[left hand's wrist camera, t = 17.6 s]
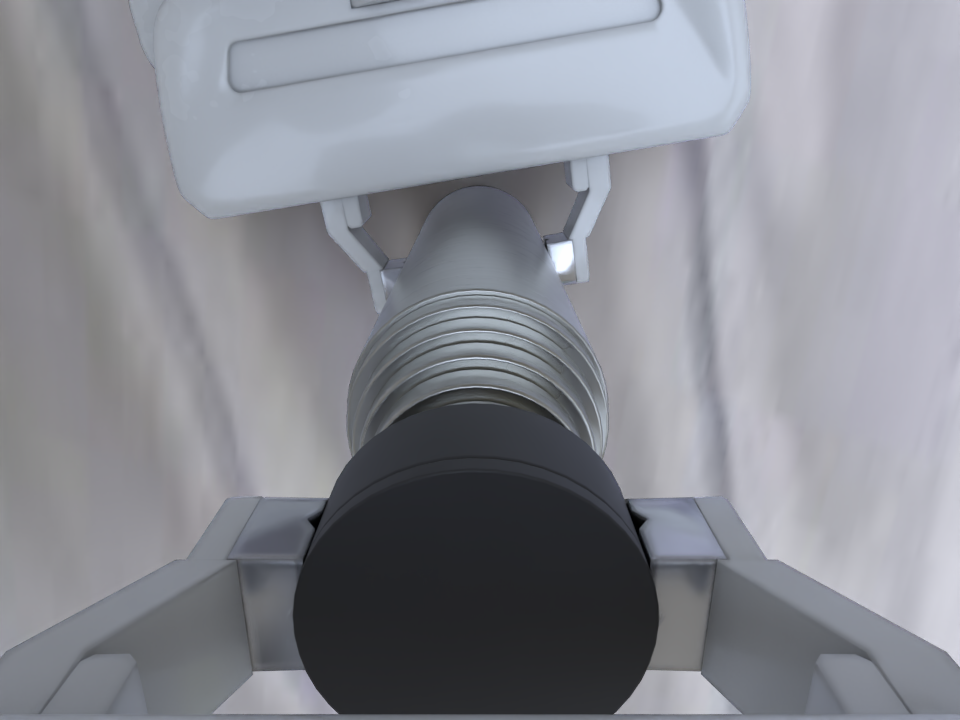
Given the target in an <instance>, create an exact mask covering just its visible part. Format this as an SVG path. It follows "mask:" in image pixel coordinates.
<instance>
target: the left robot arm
mask: <svg viewBox="0 0 960 720" xmlns="http://www.w3.org/2000/svg"><path fill="white" fill-rule="evenodd" d="M328 500H329V498H293V497H265V498H263V497H262V496H258V497H231V498H228V499H226V500H225V502H224V503H223V505H222V506H221V508H220V509H219V511H218V512H217V514H216V515H215V517H214V518H213V520H212V521H211V523H210V524H209V526H208V527H207V529H206V530H205V532H204V533H203V535H202V536H201V538H200V539H199V541H198V543H197V544H196V546H195V547H194V549H193V550H192V552H191V553H190V555H189V556H188V558H187V559H186V560H175V561H173V562H171V563H169V564H167V565H165V566H163V567H162V568H160V569H158V570H156V571H154V572H152V573H150V574H149V575H147V576H145V577H143V578H141V579H139V580H137V581H136V582H134V583H132V584H130V585H128V586H126V587H125V588H123V589H121V590H119V591H117V592H115V593H113V594H112V595H110V596H108V597H106V598H104V599H102V600H100V601H99V602H97V603H95V604H93V605H91V606H89V607H87V608H86V609H84V610H82V611H80V612H78V613H76V614H75V615H73V616H71V617H69V618H67V619H65V620H63V621H62V622H60V623H58V624H56V625H54V626H52V627H50V628H49V629H47V630H45V631H43V632H41V633H39V634H38V635H36V636H34V637H32V638H30V639H28V640H26V641H25V642H23V643H21V644H19V645H17V646H15V647H13V648H12V649H10V650H8V651H6V652H5V654H4V655H3V656H2V657H1V658H0V720H960V667H959V666H958V665H957V664H956V662H955V661H954V660H953V659H952V658H951V657H950V656H949V654H948V653H947V652H945V651H944V650H942V649H940V648H938V647H936V646H934V645H933V644H931V643H929V642H927V641H925V640H923V639H922V638H920V637H918V636H916V635H914V634H912V633H911V632H909V631H907V630H905V629H903V628H901V627H900V626H898V625H896V624H894V623H892V622H891V621H889V620H887V619H885V618H883V617H881V616H880V615H878V614H876V613H874V612H872V611H870V610H869V609H867V608H865V607H863V606H861V605H859V604H858V603H856V602H854V601H852V600H850V599H848V598H847V597H845V596H843V595H841V594H839V593H837V592H836V591H834V590H832V589H830V588H828V587H827V586H825V585H823V584H821V583H819V582H817V581H816V580H814V579H812V578H810V577H808V576H806V575H805V574H803V573H801V572H799V571H797V570H795V569H794V568H792V567H790V566H788V565H786V564H784V563H783V562H781V561H779V560H767V558H766V557H765V555H764V554H763V552H762V551H761V549H760V548H759V546H758V545H757V543H756V542H755V540H754V539H753V537H752V535H751V534H750V532H749V531H748V529H747V528H746V526H745V525H744V523H743V522H742V520H741V519H740V517H739V516H738V514H737V513H736V511H735V509H734V508H733V506H732V505H731V503H730V502H729V500H728V499H727V498H725V497H723V496H715V497H687V498H647V499H624V501H625V503H626V506H627V509H628V512H629V514H630V517H631V520H632V522H633V525H634V528H635V531H636V533H637V536H638V539H639V542H640V544H641V547H642V550H643V553H644V555H645V558H646V561H647V563H648V566H649V569H650V572H651V575H652V577H653V580H654V583H655V587H656V592H657V598H658V604H659V627H658V634H657V640H656V645H655V648H654V652H653V655H652V658H651V661H650V664H649V666H648V668H647V670H673V671H701V675H703V676H704V677H705V678H706V679H707V680H708V681H709V682H710V683H711V684H712V685H713V686H714V687H715V688H716V689H717V690H718V691H719V692H720V693H721V694H722V695H723V696H724V697H725V698H726V699H727V700H728V701H730V702H731V703H732V704H733V705H734V706H735V707H736V708H737V709H738V710H739V711H740V712H741V713H742V714H212V713H213V712H214V711H215V710H216V709H217V708H218V707H219V706H220V705H221V704H222V703H223V702H225V701H226V700H227V699H228V698H229V697H230V696H231V695H232V694H233V693H234V692H235V691H236V690H237V689H238V688H239V687H240V686H241V685H242V684H243V683H244V682H246V681H247V680H248V679H249V678H250V677H251V676H252V675H253V673H252V671H280V670H305V668H304V665H303V663H302V661H301V658H300V656H299V653H298V649H297V644H296V640H295V636H294V628H293V603H294V594H295V590H296V586H297V582H298V578H299V575H300V572H301V570H302V567H303V565H304V562H305V559H306V557H307V554H308V552H309V549H310V546H311V544H312V541H313V539H314V536H315V534H316V531H317V528H318V526H319V523H320V521H321V518H322V515H323V513H324V510H325V508H326V505H327V503H328Z"/></svg>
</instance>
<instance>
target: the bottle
mask: <svg viewBox="0 0 960 720" xmlns="http://www.w3.org/2000/svg"><path fill="white" fill-rule="evenodd" d="M468 403H479V404H496V405H503V406H510V407H515V408H518V409H522V410H526V411H529V412H533V413H536V414H538V415H540V416H543V417H545V418H548V419H550V420H552V421H554V422H556V423H558V424H560V425H561V426H563V427H565V428H567V429H568V430H570V431H572V432H573V433H574V434H575V435H577V436H578V437H579V438H581V439H582V440H583V441H585V442H586V443H587V444H588V445H589V446H590V447H591V448H592V449H593V450H594V451H595V452H596V453H597V454H598V455H599V456H600V457H601V459H602V460H603V456H604V453H605V449H606V446H607V439H608V432H609V413H608V394H607V388H606V382H605V379H604V376H603V372H602V369H601V366H600V364H599V362H598V360H597V358H596V356H595V353H594V351H593V349H592V347H591V345H590V343H589V341H588V338H587V336H586V334H585V332H584V330H583V328H582V325H581V323H580V321H579V319H578V317H577V315H576V312H575V310H574V308H573V306H572V304H571V302H570V300H569V297H568V295H567V293H566V291H565V289H564V287H563V284H562V282H561V280H560V278H559V276H558V274H557V272H556V269H555V267H554V265H553V263H552V261H551V259H550V256H549V254H548V252H547V250H546V248H545V246H544V243H543V241H542V239H541V237H540V235H539V233H538V231H537V228H536V226H535V224H534V222H533V220H532V218H531V216H530V214H529V213H528V211H527V210H526V208H525V207H524V206H523V205H522V204H521V203H520V202H519V201H518V200H517V199H516V198H514V197H513V196H511V195H510V194H508V193H506V192H504V191H502V190H499V189H496V188H492V187H487V186H471V187H466V188H462V189H459V190H457V191H454V192H452V193H451V194H449V195H447V196H446V197H444V198H443V199H442V200H441V201H440V202H438V203H437V204H436V206H435V207H434V208H433V209H432V210H431V212H430V214H429V215H428V217H427V219H426V221H425V223H424V225H423V227H422V229H421V231H420V233H419V235H418V237H417V239H416V241H415V243H414V245H413V248H412V250H411V252H410V254H409V256H408V258H407V260H406V262H405V264H404V266H403V268H402V270H401V272H400V274H399V276H398V278H397V280H396V282H395V284H394V287H393V289H392V291H391V293H390V295H389V297H388V299H387V301H386V303H385V305H384V307H383V309H382V311H381V313H380V315H379V317H378V319H377V321H376V324H375V326H374V328H373V330H372V332H371V334H370V336H369V338H368V340H367V342H366V344H365V346H364V348H363V350H362V352H361V354H360V357H359V359H358V361H357V363H356V366H355V368H354V370H353V374H352V377H351V381H350V384H349V391H348V399H347V416H346V419H347V437H348V443H349V448H350V451H351V455H352V458H353V456H354V455H355V454H356V453H357V452H358V450H359V449H361V448H362V447H363V446H364V445H365V444H366V443H367V442H368V441H370V440H371V439H372V438H373V437H374V436H376V435H377V434H379V433H380V432H382V431H383V430H385V429H386V428H388V427H389V426H391V425H393V424H395V423H397V422H399V421H401V420H403V419H405V418H407V417H409V416H412V415H415V414H418V413H421V412H423V411H426V410H430V409H434V408H439V407H444V406H448V405H457V404H468Z"/></svg>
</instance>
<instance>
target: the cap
mask: <svg viewBox="0 0 960 720" xmlns="http://www.w3.org/2000/svg"><path fill="white" fill-rule="evenodd" d="M658 627H659V604H658V598H657V592H656V587H655V583H654V580H653V577H652V575H651V572H650V569H649V566H648V563H647V561H646V558H645V555H644V553H643V550H642V547H641V544H640V542H639V539H638V536H637V533H636V531H635V528H634V525H633V522H632V520H631V517H630V514H629V512H628V509H627V506H626V503H625V501H624V498H623V495H622V492H621V490H620V487H619V485H618V483H617V482H616V480H615V478H614V476H613V474H612V472H611V471H610V469H609V468H608V467H607V465H606V464H605V463H604V461H603V460H602V459H601V457H600V456H599V455H598V454H597V453H596V452H595V451H594V450H593V449H592V448H591V447H590V446H589V445H588V444H587V443H586V442H585V441H583V440H582V439H581V438H579V437H578V436H577V435H575V434H574V433H573V432H572V431H570V430H568V429H567V428H565V427H563V426H561V425H560V424H558V423H556V422H554V421H552V420H550V419H548V418H545V417H543V416H540V415H538V414H536V413H533V412H529V411H526V410H522V409H518V408H515V407H510V406H503V405H496V404H479V403H468V404H457V405H448V406H444V407H439V408H434V409H430V410H426V411H423V412H421V413H418V414H415V415H412V416H409V417H407V418H405V419H403V420H401V421H399V422H397V423H395V424H393V425H391V426H389V427H388V428H386V429H385V430H383V431H382V432H380V433H379V434H377V435H376V436H374V437H373V438H372V439H371V440H370V441H368V442H367V443H366V444H365V445H364V446H363V447H362V448H361V449H359V450H358V452H357V453H356V454H355V455H354V456H353V458H352V459H351V460H350V461H349V462H348V463H347V465H346V466H345V468H344V469H343V471H342V473H341V474H340V476H339V477H338V479H337V481H336V483H335V486H334V488H333V490H332V493H331V495H330V497H329V500H328V503H327V505H326V508H325V510H324V513H323V515H322V518H321V521H320V523H319V526H318V528H317V531H316V534H315V536H314V539H313V541H312V544H311V546H310V549H309V552H308V554H307V557H306V559H305V562H304V565H303V567H302V570H301V572H300V575H299V578H298V582H297V586H296V590H295V594H294V603H293V628H294V636H295V640H296V644H297V649H298V653H299V656H300V658H301V661H302V663H303V665H304V668H305V670H306V672H307V674H308V676H309V677H310V679H311V681H312V682H313V684H314V686H315V687H316V689H317V690H318V692H319V693H320V694H321V695H322V697H323V698H324V699H325V700H326V702H327V703H328V704H329V705H330V706H331V707H332V708H333V709H334V710H335V711H336V712H337V713H338V714H614V713H615V712H616V711H617V710H618V709H619V708H620V707H621V706H622V705H623V704H624V703H625V702H626V701H627V699H628V698H629V697H630V696H631V695H632V693H633V692H634V690H635V689H636V687H637V686H638V684H639V683H640V681H641V680H642V678H643V676H644V674H645V672H646V670H647V668H648V666H649V664H650V661H651V658H652V655H653V652H654V648H655V645H656V640H657V634H658Z"/></svg>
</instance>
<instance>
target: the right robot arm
mask: <svg viewBox="0 0 960 720" xmlns="http://www.w3.org/2000/svg"><path fill="white" fill-rule="evenodd" d="M129 6H130V10H131V13H132V16H133V20H134V23H135V26H136V30H137V33H138V36H139V40H140V43H141V46H142V49H143V51H144V53H145V55H146V57H147V59H148V60H149V62H150V64H151V65H152V66H153V68H154V69H155V74H156V82H157V89H158V96H159V103H160V109H161V115H162V121H163V126H164V132H165V137H166V141H167V146H168V151H169V155H170V159H171V163H172V168H173V172H174V176H175V179H176V183H177V186H178V189H179V191H180V193H181V195H182V197H183V198H184V199H185V200H186V201H187V202H189V203H190V204H191V205H192V206H193V207H194V208H196V209H197V210H198V211H199V212H200V213H202V214H203V215H204V216H206V217H207V218H210V219H219V218H225V217H231V216H238V215H244V214H250V213H256V212H262V211H268V210H274V209H280V208H286V207H292V206H298V205H304V204H310V203H316V202H320V204H321V208H322V213H323V217H324V221H325V225H326V229H327V233H328V234H329V235H330V236H331V238H332V239H333V240H334V241H335V242H336V243H337V244H338V245H339V246H340V247H341V248H342V250H343V251H344V252H345V253H346V254H347V255H348V256H349V257H350V258H351V259H352V261H353V262H354V263H355V264H356V265H357V266H358V267H359V268H360V269H361V270H362V271H363V272H367V275H368V280H369V284H370V289H371V293H372V298H373V302H374V307H375V310H376V312H377V314H380V313H381V311H382V309H383V307H384V305H385V303H386V301H387V299H388V297H389V295H390V293H391V291H392V289H393V287H394V284H395V282H396V280H397V278H398V276H399V274H400V272H401V270H402V268H403V266H404V264H405V262H406V260H407V258H400V259H393V260H389V258H388V257H387V256H386V255H385V254H384V252H383V251H382V250H381V249H380V248H379V246H378V245H377V244H376V243H375V242H374V240H373V239H372V238H371V237H370V236H369V234H368V233H367V232H366V231H365V230H364V228H363V227H362V225H363V224H364V223H365V222H366V221H367V220H368V219H369V218H370V217H371V211H370V206H369V201H368V196H367V194H371V193H377V192H383V191H389V190H395V189H401V188H407V187H413V186H419V185H425V184H432V183H438V182H444V181H450V180H456V179H462V178H468V177H474V176H480V175H486V174H492V173H498V172H504V171H510V170H516V169H523V168H529V167H535V166H541V165H547V164H553V163H559V162H564V169H565V177H566V183H567V184H568V185H569V186H570V187H571V188H572V189H573V190H575V191H576V192H579V193H578V195H577V198H576V200H575V203H574V205H573V207H572V210H571V212H570V215H569V217H568V220H567V222H566V225H565V227H564V230H563V232H562V233H557V234H551V235H546V236H543V239H544V246H545V248H546V250H547V252H548V254H549V256H550V259H551V261H552V263H553V265H554V267H555V269H556V272H557V274H558V276H559V278H560V280H561V282H562V284H563V285H570V284H576V283H583V282H589V265H588V255H587V246H586V237H589V235H590V233H591V231H592V229H593V227H594V224H595V222H596V220H597V218H598V216H599V213H600V211H601V209H602V207H603V205H604V202H605V200H606V198H607V196H608V193H609V191H610V189H611V178H610V166H609V154H613V153H620V152H626V151H632V150H638V149H644V148H650V147H656V146H662V145H668V144H674V143H680V142H686V141H692V140H698V139H704V138H710V137H716V136H722V135H725V134H727V133H728V132H730V131H731V129H732V128H733V127H734V125H735V124H736V122H737V121H738V119H739V118H740V116H741V114H742V113H743V111H744V109H745V108H746V106H747V104H748V102H749V99H750V93H751V65H750V48H749V34H748V24H747V14H746V6H745V0H129Z"/></svg>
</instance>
